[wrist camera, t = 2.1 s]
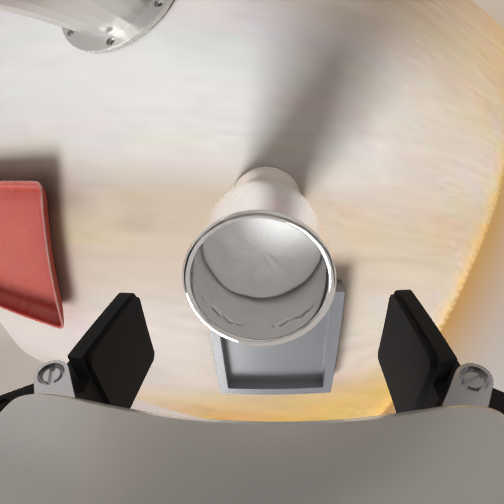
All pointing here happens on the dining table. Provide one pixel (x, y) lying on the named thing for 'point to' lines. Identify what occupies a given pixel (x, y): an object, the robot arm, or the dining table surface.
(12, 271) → the plant saucer
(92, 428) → the robot arm
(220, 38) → the dining table surface
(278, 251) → the beer glass
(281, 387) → the serving tray
